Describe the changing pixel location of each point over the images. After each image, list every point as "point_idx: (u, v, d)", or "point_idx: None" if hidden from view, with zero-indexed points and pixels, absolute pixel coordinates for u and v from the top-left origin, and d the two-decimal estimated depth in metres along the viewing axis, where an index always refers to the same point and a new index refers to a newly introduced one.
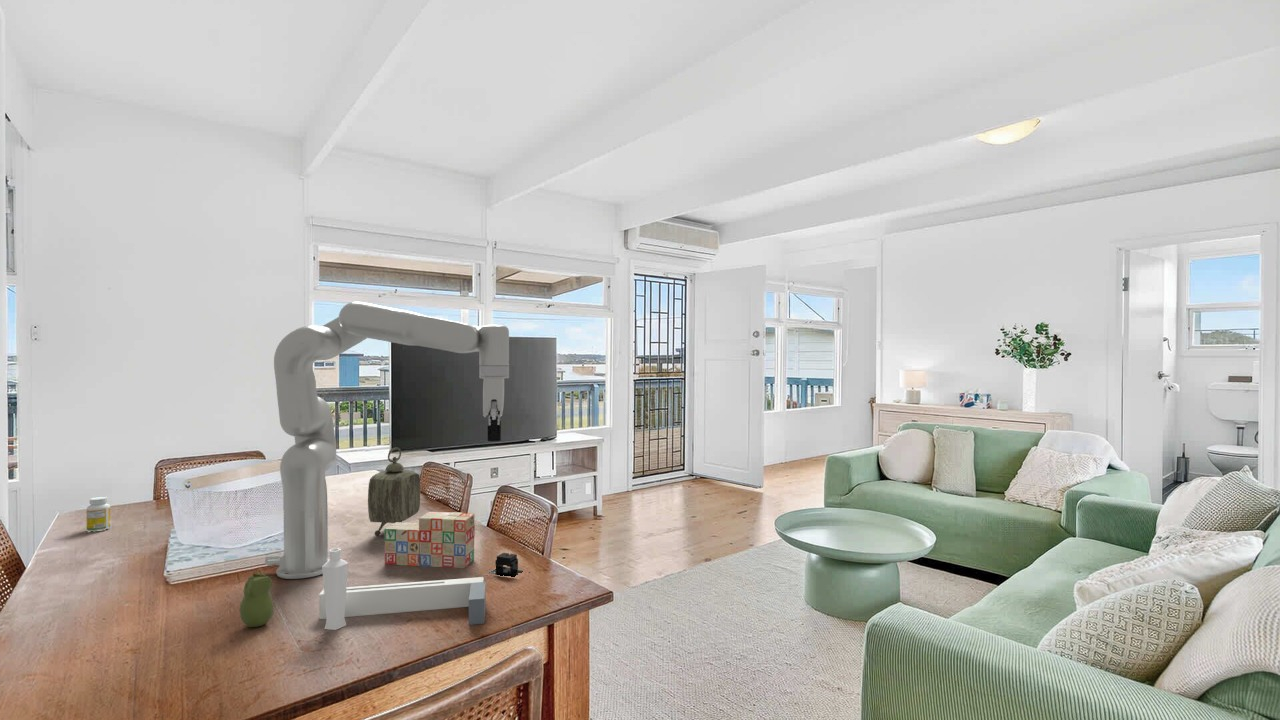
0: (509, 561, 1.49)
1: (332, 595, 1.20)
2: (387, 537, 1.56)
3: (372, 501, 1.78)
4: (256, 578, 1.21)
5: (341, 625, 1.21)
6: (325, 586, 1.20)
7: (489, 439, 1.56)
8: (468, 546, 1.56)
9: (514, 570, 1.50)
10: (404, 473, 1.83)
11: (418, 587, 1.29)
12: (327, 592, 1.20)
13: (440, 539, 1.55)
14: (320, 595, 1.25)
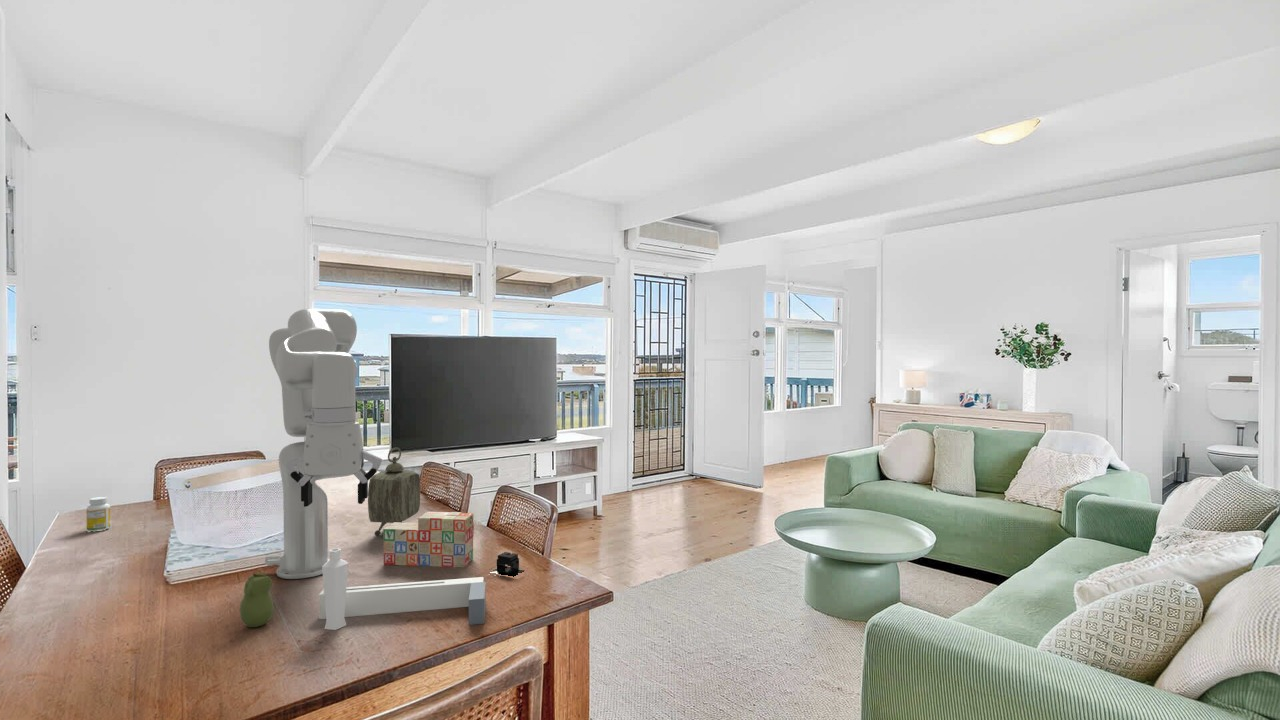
0: (509, 560, 1.49)
1: (332, 595, 1.20)
2: (386, 537, 1.56)
3: (372, 501, 1.78)
4: (256, 578, 1.21)
5: (341, 625, 1.21)
6: (325, 586, 1.20)
7: (362, 501, 1.21)
8: (468, 546, 1.57)
9: (515, 569, 1.50)
10: (404, 473, 1.83)
11: (418, 587, 1.29)
12: (327, 592, 1.20)
13: (439, 539, 1.55)
14: (320, 595, 1.25)
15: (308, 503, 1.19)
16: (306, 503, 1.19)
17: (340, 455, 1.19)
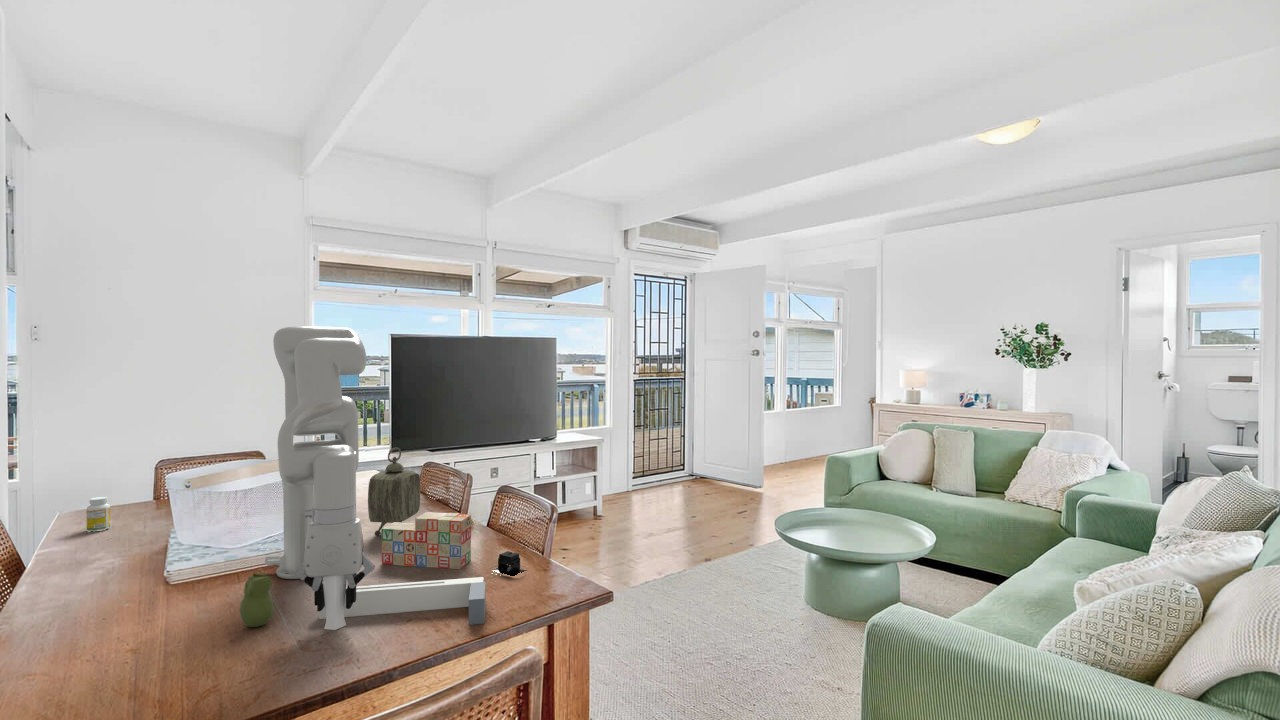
0: (510, 560, 1.50)
1: (332, 595, 1.20)
2: (384, 537, 1.56)
3: (372, 501, 1.78)
4: (256, 578, 1.21)
5: (341, 625, 1.21)
6: (325, 586, 1.20)
7: (350, 606, 1.21)
8: (464, 547, 1.55)
9: (515, 569, 1.51)
10: (404, 473, 1.83)
11: (418, 587, 1.29)
12: (327, 592, 1.20)
13: (436, 540, 1.54)
14: None
15: (321, 607, 1.20)
16: (319, 608, 1.19)
17: (341, 555, 1.19)
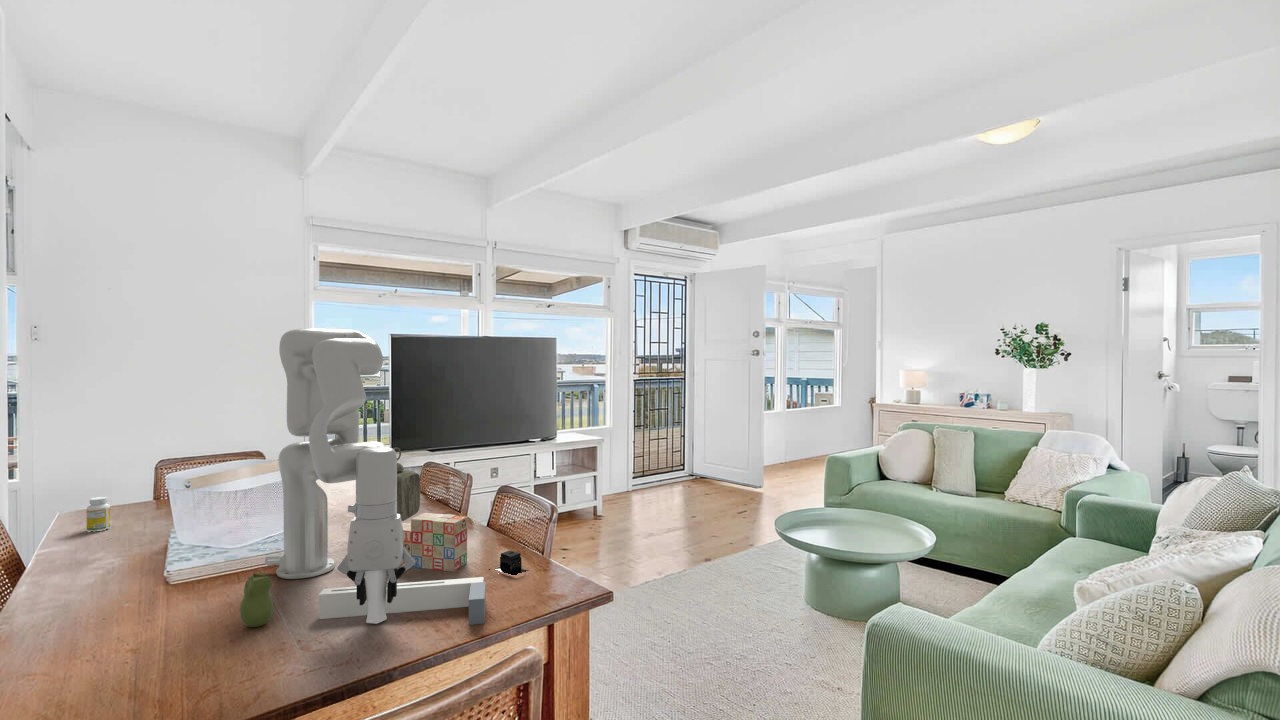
0: (510, 559, 1.50)
1: (374, 590, 1.22)
2: None
3: None
4: (256, 578, 1.21)
5: (382, 619, 1.23)
6: (367, 580, 1.22)
7: (391, 600, 1.23)
8: (459, 550, 1.54)
9: (516, 569, 1.51)
10: (404, 473, 1.83)
11: (418, 587, 1.29)
12: (369, 586, 1.22)
13: (431, 541, 1.53)
14: (320, 595, 1.25)
15: (363, 601, 1.22)
16: (361, 601, 1.21)
17: (383, 550, 1.21)
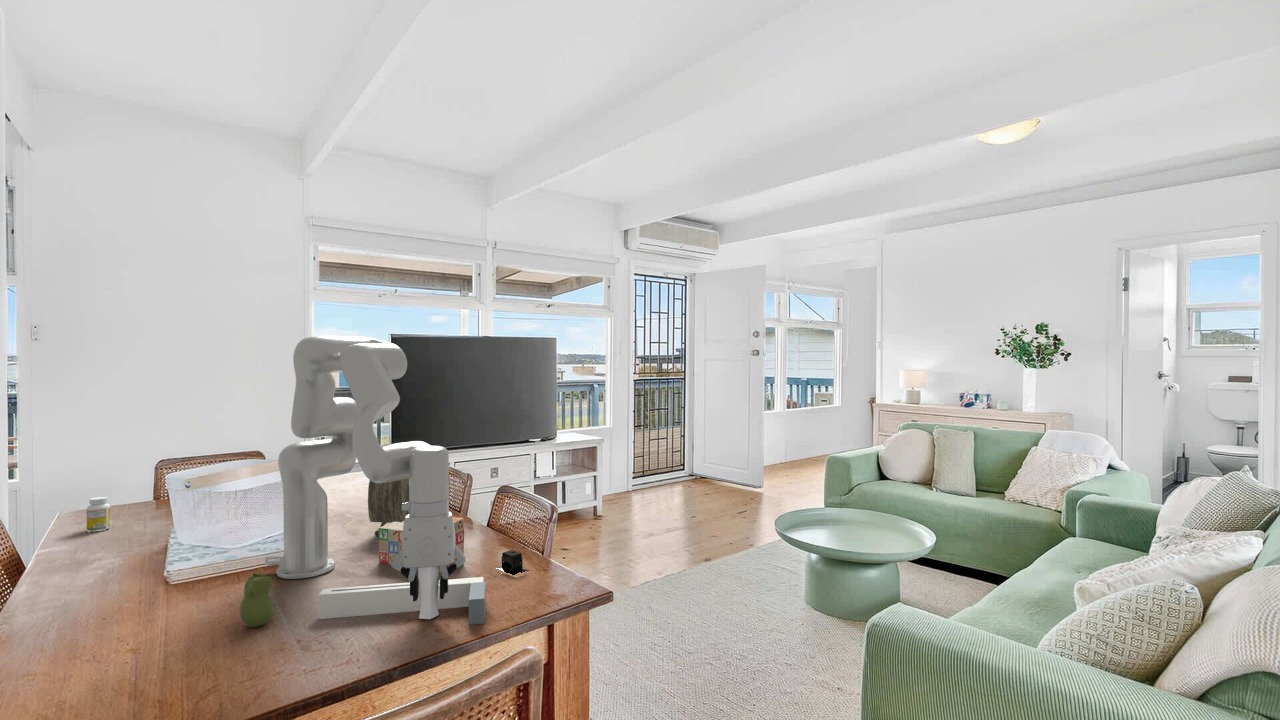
0: (511, 559, 1.50)
1: (427, 586, 1.24)
2: (380, 536, 1.57)
3: (372, 501, 1.78)
4: (256, 578, 1.21)
5: (434, 615, 1.25)
6: (420, 577, 1.24)
7: (443, 596, 1.25)
8: None
9: (517, 568, 1.51)
10: None
11: None
12: (422, 583, 1.24)
13: None
14: (320, 595, 1.25)
15: (417, 597, 1.24)
16: (415, 597, 1.23)
17: (436, 547, 1.23)
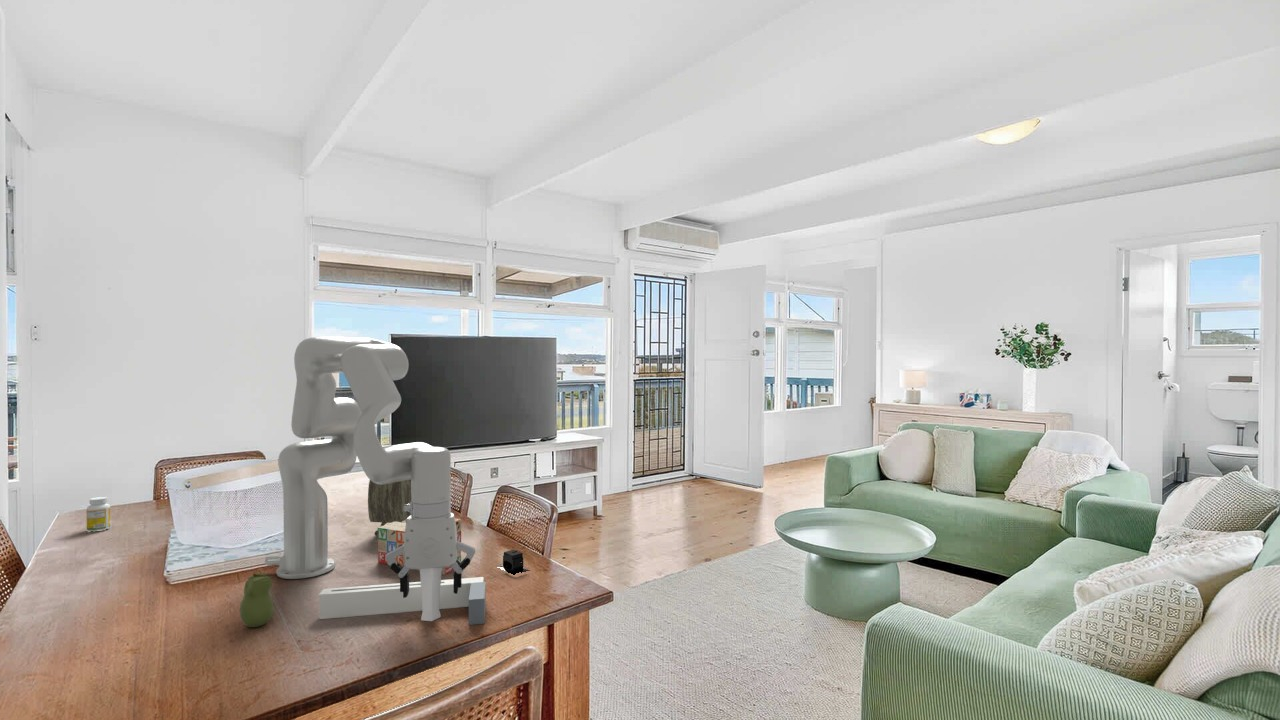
0: (511, 558, 1.51)
1: (429, 588, 1.24)
2: (379, 536, 1.57)
3: (372, 501, 1.78)
4: (256, 578, 1.21)
5: (436, 616, 1.25)
6: (422, 579, 1.24)
7: (457, 590, 1.25)
8: None
9: (517, 568, 1.51)
10: None
11: (418, 587, 1.29)
12: (424, 584, 1.24)
13: None
14: (320, 595, 1.25)
15: (407, 594, 1.23)
16: (405, 594, 1.23)
17: (438, 548, 1.23)
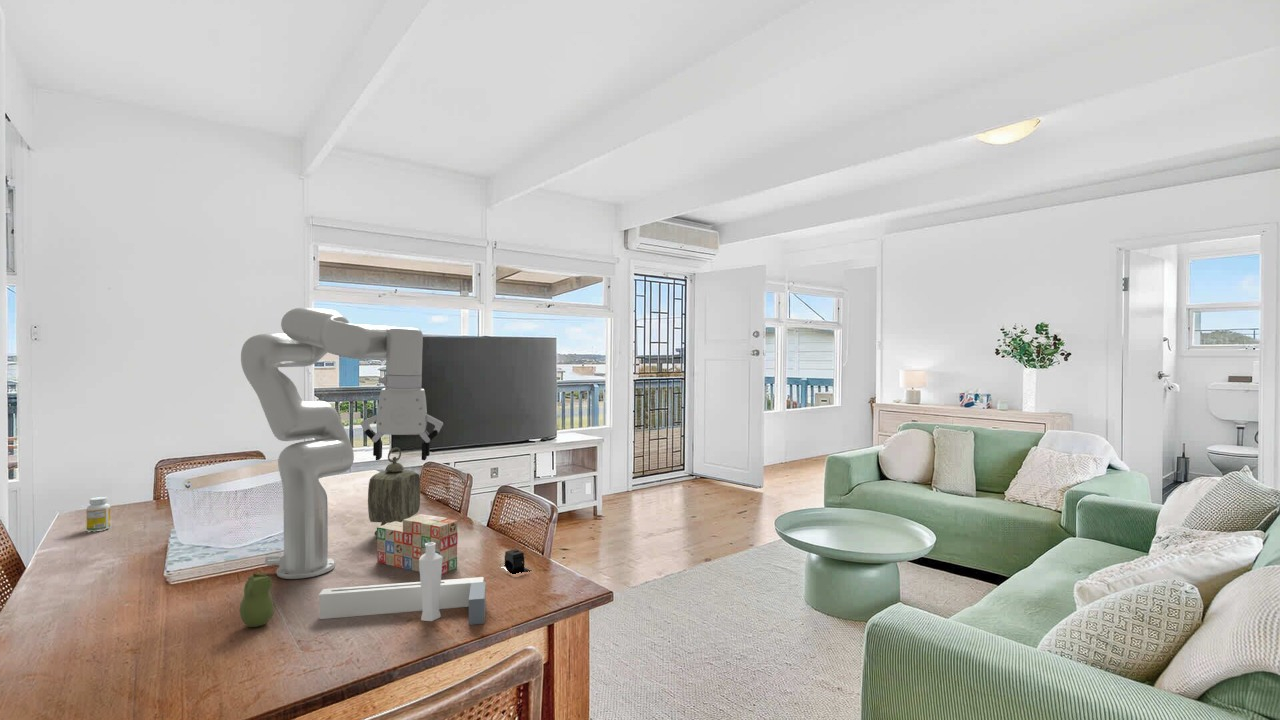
0: (512, 558, 1.51)
1: (429, 588, 1.24)
2: (379, 535, 1.57)
3: (372, 501, 1.78)
4: (256, 578, 1.21)
5: (436, 616, 1.25)
6: (422, 579, 1.24)
7: (425, 458, 1.38)
8: (446, 554, 1.50)
9: (518, 568, 1.51)
10: (404, 473, 1.83)
11: (418, 587, 1.29)
12: (424, 584, 1.24)
13: (419, 543, 1.51)
14: (320, 595, 1.25)
15: (379, 457, 1.37)
16: (377, 457, 1.36)
17: (408, 417, 1.36)
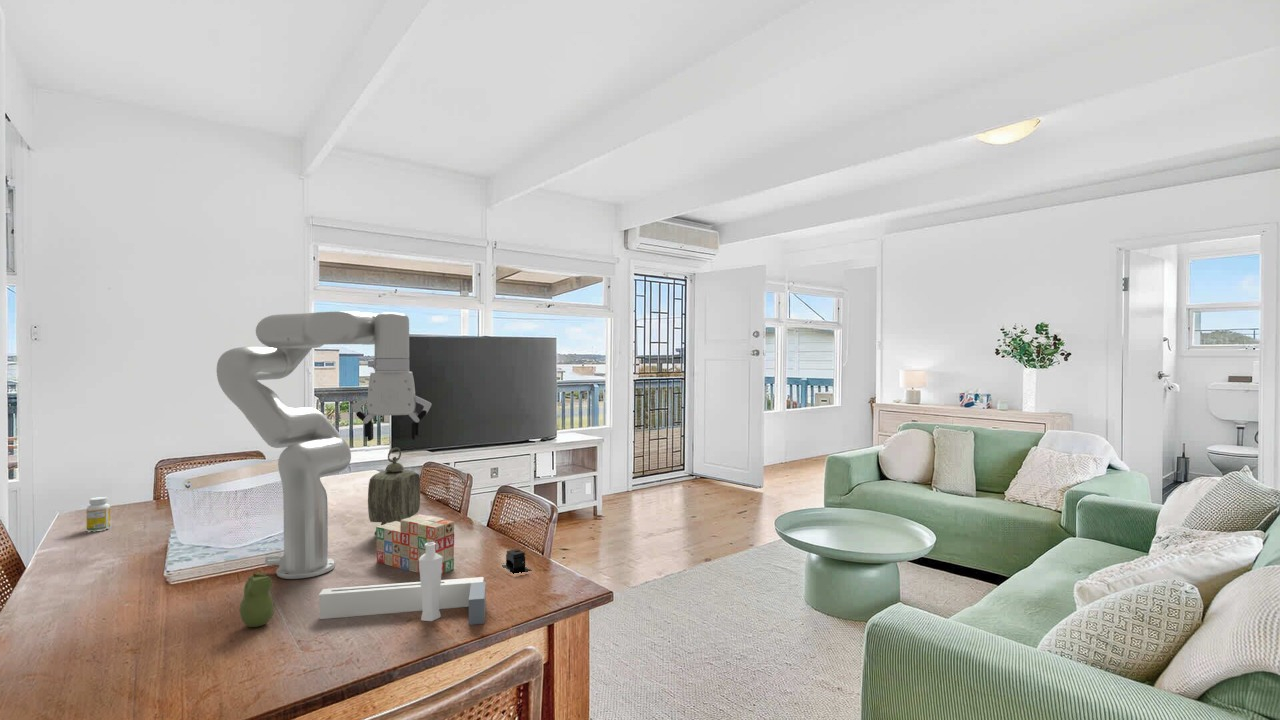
0: (513, 557, 1.51)
1: (429, 588, 1.24)
2: (378, 535, 1.58)
3: (372, 501, 1.78)
4: (256, 578, 1.21)
5: (436, 616, 1.25)
6: (422, 579, 1.24)
7: (415, 437, 1.44)
8: (442, 555, 1.50)
9: (519, 567, 1.52)
10: (404, 473, 1.83)
11: (418, 587, 1.29)
12: (424, 584, 1.24)
13: (416, 544, 1.51)
14: (320, 595, 1.25)
15: (371, 438, 1.42)
16: (369, 437, 1.42)
17: (398, 398, 1.42)
